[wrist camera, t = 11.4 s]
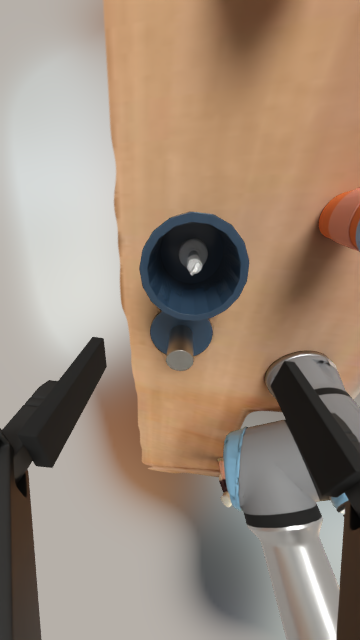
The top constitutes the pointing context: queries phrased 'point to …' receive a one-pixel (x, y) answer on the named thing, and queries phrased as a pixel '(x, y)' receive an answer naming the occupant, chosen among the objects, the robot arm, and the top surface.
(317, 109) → the top surface
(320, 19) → the top surface
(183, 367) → the tin lid
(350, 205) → the cup with straw
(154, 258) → the tin
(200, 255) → the chess piece
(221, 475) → the grandmother figurine
